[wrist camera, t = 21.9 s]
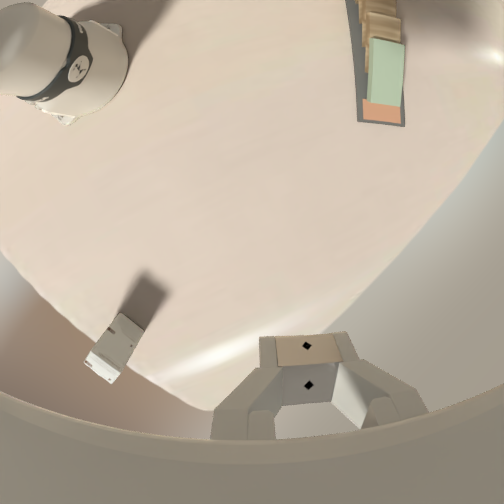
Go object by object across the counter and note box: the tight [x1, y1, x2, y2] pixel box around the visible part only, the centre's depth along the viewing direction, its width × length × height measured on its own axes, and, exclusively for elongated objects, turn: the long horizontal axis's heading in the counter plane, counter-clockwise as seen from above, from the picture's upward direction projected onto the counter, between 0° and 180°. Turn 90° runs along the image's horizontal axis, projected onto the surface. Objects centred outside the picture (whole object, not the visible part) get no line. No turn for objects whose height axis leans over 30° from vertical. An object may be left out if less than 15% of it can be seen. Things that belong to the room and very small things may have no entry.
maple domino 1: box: [362, 0, 396, 47], centre depth 29 cm, size 2×5×10 cm
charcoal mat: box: [345, 0, 405, 127], centre depth 34 cm, size 22×8×1 cm, turn 2°
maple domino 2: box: [365, 12, 401, 73], centre depth 31 cm, size 2×5×10 cm
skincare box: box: [84, 313, 144, 384], centre depth 44 cm, size 6×4×12 cm
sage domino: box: [367, 38, 405, 107], centre depth 32 cm, size 2×5×10 cm
